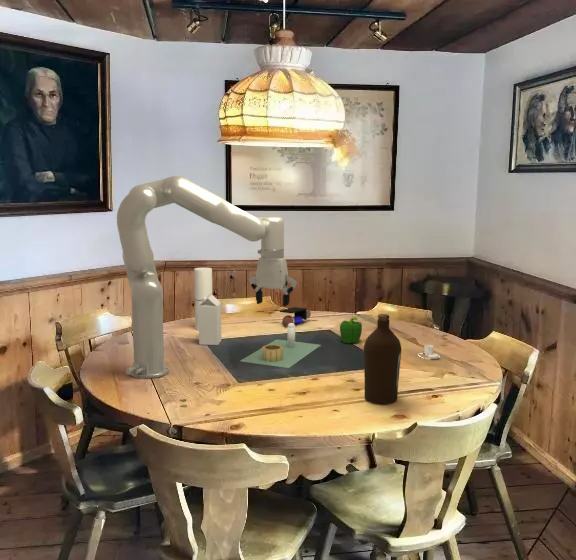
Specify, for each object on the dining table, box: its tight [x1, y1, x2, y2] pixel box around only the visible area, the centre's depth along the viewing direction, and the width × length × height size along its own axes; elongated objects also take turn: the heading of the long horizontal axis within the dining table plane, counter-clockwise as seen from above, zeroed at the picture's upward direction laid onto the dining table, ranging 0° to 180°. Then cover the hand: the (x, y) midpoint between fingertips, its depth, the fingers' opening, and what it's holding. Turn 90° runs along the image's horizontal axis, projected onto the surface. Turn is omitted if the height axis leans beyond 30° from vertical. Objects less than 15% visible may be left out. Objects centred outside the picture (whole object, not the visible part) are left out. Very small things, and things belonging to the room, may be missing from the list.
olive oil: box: [363, 313, 402, 405], centre depth 183 cm, size 11×11×25 cm
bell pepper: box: [339, 316, 363, 344], centre depth 244 cm, size 8×8×10 cm
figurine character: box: [279, 306, 312, 328], centre depth 271 cm, size 7×8×15 cm
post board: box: [240, 323, 322, 369], centre depth 225 cm, size 30×18×10 cm, turn 157°
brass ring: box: [261, 344, 283, 362], centre depth 218 cm, size 7×7×4 cm
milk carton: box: [198, 291, 222, 346], centre depth 241 cm, size 7×7×19 cm
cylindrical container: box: [193, 267, 213, 332], centre depth 261 cm, size 7×7×25 cm
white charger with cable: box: [417, 344, 441, 360], centre depth 227 cm, size 9×8×4 cm
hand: (272, 304), depth 215 cm, fingers open, 9 cm apart
